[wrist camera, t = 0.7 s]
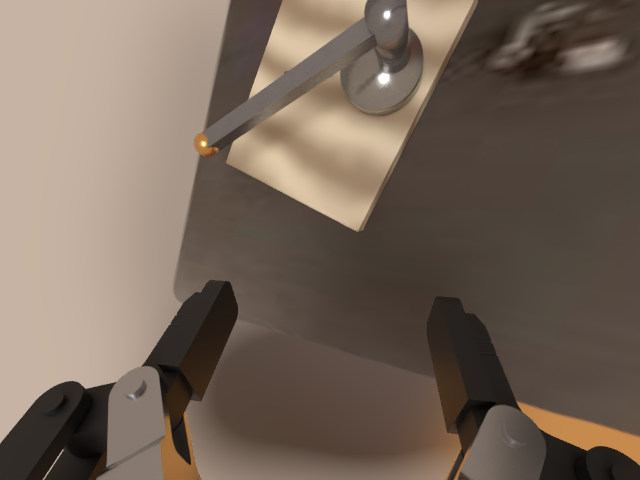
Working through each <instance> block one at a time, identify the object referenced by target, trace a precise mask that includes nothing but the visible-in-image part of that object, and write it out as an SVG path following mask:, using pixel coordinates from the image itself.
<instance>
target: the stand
mask: <svg viewBox="0 0 640 480" xmlns="http://www.w3.org/2000/svg"><path fill="white" fill-rule="evenodd" d="M366 2H367V0H283V1H282V4H281V7H280V10H279V13H278V16H277V19H276V21H275V24H274V27H273V30H272V33H271V36H270V39H269V41H268V44H267V47H266V50H265V53H264V56H263V59H262V61H261V64H260V67H259V70H258V73H257V76H256V79H255V81H254V84H253V87H252V90H251V93H250V96H249V99H250V98H251V97H253V96H254V95H256V94H257V93H258V92H260V91H261V90H263V89H264V88H265V87H267V86H268V85H270V84H271V83H272V82H274V81H275V80H277V79H278V78H279V77H281V76H282V75H283V74H285V73H286V72H288V71H289V70H290V69H292V68H293V67H295V66H296V65H297V64H299V63H300V62H302V61H303V60H304V59H306V58H307V57H309V56H310V55H311V54H313V53H314V52H316V51H317V50H318V49H320V48H321V47H323V46H324V45H325V44H327V43H328V42H330V41H331V40H332V39H334V38H335V37H337V36H338V35H339V34H341V33H342V32H344V31H345V30H346V29H348V28H349V27H351V26H352V25H353V24H355V23H356V22H358V21H359V20H360V19H362V18H363V17H365V16H364V9H365V5H366ZM477 4H478V0H407V12H408V24H409V27H410V28H411V29H412V30H413V31H414V32H415V33H416V35H417V36H418V38H419V40H420V42H421V45H422V49H423V76H422V80H421V83H420V85H419V88H418V90H417V91H416V93H415V95H414V96H413V97H412V98H411V100H410V101H409V102H408V103H407V104H406V105H404V106H403V107H402V108H400V109H399V110H397V111H395V112H393V113H390V114H387V115H381V116H374V115H368V114H365V113H363V112H361V111H359V110H358V109H357V108H356V107H355V106H354V105H353V104H352V103H351V101H350V100H349V98H348V97H347V95H346V94H345V92H344V90H343V87H342V85H341V80H340V71H339V72H337V73H336V74H334V75H333V76H331V77H330V78H328V79H326V80H325V81H323V82H322V83H320V84H319V85H317V86H316V87H314V88H313V89H311V90H310V91H308V92H307V93H305V94H304V95H302V96H301V97H299V98H298V99H296V100H295V101H293V102H292V103H290V104H289V105H287V106H286V107H284V108H283V109H281V110H280V111H278V112H277V113H275V114H274V115H272V116H271V117H269V118H268V119H266V120H265V121H263V122H262V123H260V124H259V125H257V126H256V127H254V128H253V129H251V130H250V131H248V132H247V133H245V134H244V135H242V136H240V137H239V138H237V139H236V140H234V142H233V144H232V147H231V150H230V153H229V156H228V159H227V162H226V163H227V164H229V165H231V166H233V167H235V168H237V169H239V170H241V171H243V172H245V173H246V174H248V175H250V176H252V177H254V178H256V179H258V180H260V181H262V182H264V183H265V184H267V185H269V186H271V187H273V188H275V189H277V190H279V191H281V192H283V193H285V194H286V195H288V196H290V197H292V198H294V199H296V200H298V201H300V202H302V203H304V204H305V205H307V206H309V207H311V208H313V209H315V210H317V211H319V212H321V213H323V214H324V215H326V216H328V217H330V218H332V219H334V220H336V221H338V222H340V223H342V224H343V225H345V226H347V227H349V228H351V229H353V230H355V231H357V232H359V231H362V230H363V229H364V227H365V225H366V223H367V221H368V219H369V217H370V215H371V213H372V211H373V209H374V207H375V205H376V203H377V201H378V199H379V197H380V195H381V193H382V191H383V189H384V187H385V185H386V183H387V182H388V180H389V178H390V176H391V174H392V172H393V170H394V168H395V166H396V164H397V162H398V160H399V158H400V156H401V154H402V152H403V150H404V148H405V146H406V144H407V142H408V140H409V138H410V136H411V134H412V132H413V130H414V128H415V126H416V124H417V122H418V121H419V119H420V117H421V115H422V113H423V111H424V109H425V107H426V105H427V103H428V101H429V99H430V97H431V95H432V93H433V91H434V89H435V87H436V85H437V83H438V81H439V79H440V77H441V75H442V73H443V71H444V69H445V67H446V65H447V63H448V61H449V59H450V58H451V56H452V54H453V52H454V50H455V48H456V46H457V44H458V42H459V40H460V38H461V36H462V34H463V32H464V30H465V28H466V26H467V24H468V22H469V20H470V18H471V16H472V14H473V12H474V10H475V8H476V6H477ZM249 99H248V100H249Z"/></svg>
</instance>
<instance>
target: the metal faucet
mask: <svg viewBox="0 0 640 480" xmlns="http://www.w3.org/2000/svg"><path fill="white" fill-rule="evenodd" d="M364 16H365V17H363V18H362V19H360V20H359V21H358V22H356V23H355V24H353V25H352V26H351V27H349V28H348V29H346V30H345V31H344V32H342V33H341V34H339V35H338V36H337V37H335V38H334V39H332V40H331V41H330V42H328V43H327V44H325V45H324V46H323V47H321V48H320V49H318V50H317V51H316V52H314V53H313V54H311V55H310V56H309V57H307V58H306V59H304V60H303V61H302V62H300V63H299V64H297V65H296V66H295V67H293V68H292V69H290V70H289V71H288V72H286V73H285V74H283V75H282V76H281V77H279V78H278V79H277V80H275V81H274V82H272V83H271V84H270V85H268V86H267V87H265V88H264V89H263V90H261V91H260V92H258V93H257V94H256V95H254V96H253V97H251V98H250V99H249V100H247V101H246V102H244V103H243V104H242V105H240V106H239V107H237V108H236V109H235V110H233V111H232V112H230V113H229V114H228V115H226V116H225V117H223V118H222V119H221V120H219V121H218V122H216V123H215V124H214V125H212V126H211V127H209V128H208V129H207V130H205V131H204V132H202V133H200V134H198V135H197V136H196V137H195V139H194V146H195V149H196V151H197V152H198V153H199V154H200V155H202V156H205V157H211V156H214V155H215V154H216V153H217V152H218V151H219V150H221V149H222V148H224V147H225V146H227V145H228V144H230V143H231V142H233V141H234V140H236V139H237V138H239V137H240V136H242V135H244V134H245V133H247V132H248V131H250V130H251V129H253V128H254V127H256V126H257V125H259V124H260V123H262V122H263V121H265V120H266V119H268V118H269V117H271V116H272V115H274V114H275V113H277V112H278V111H280V110H281V109H283V108H284V107H286V106H287V105H289V104H290V103H292V102H293V101H295V100H296V99H298V98H299V97H301V96H302V95H304V94H305V93H307V92H308V91H310V90H311V89H313V88H314V87H316V86H317V85H319V84H320V83H322V82H323V81H325V80H326V79H328V78H330V77H331V76H333V75H334V74H336V73H337V72H339V71H340V80H341V85H342V87H343V90H344V92H345V94H346V95H347V97H348V98H349V100H350V101H351V103H352V104H353V105H354V106H355V107H356V108H357V109H358V110H359V111H361V112H363V113H365V114H368V115H374V116H381V115H387V114H390V113H393V112H395V111H397V110H399V109H400V108H402V107H403V106H404V105H406V104H407V103H408V102H409V101H410V100H411V98H412V97H413V96H414V95H415V93H416V91H417V90H418V88H419V85H420V83H421V80H422V76H423V49H422V45H421V42H420V40H419V38H418V36H417V35H416V33H415V32H414V31H413V30H412V29H411V28H410V27H409V24H408V12H407V0H367V2H366V5H365V9H364Z"/></svg>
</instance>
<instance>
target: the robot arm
mask: <svg viewBox="0 0 640 480" xmlns="http://www.w3.org/2000/svg"><path fill="white" fill-rule="evenodd" d="M237 315H238V305H237V302H236V299H235V296H234V292H233V289H232V286H231V283H230V282H229V281H216V280H210V281H208V282H207V284H206V285H205V287H204V288H203V290H202V292H201V293H198V292H196V293H194V294H193V295H192V296H191V297H190V298H188V299H187V300H186V301H185V302H184V303H183V305H182V306H181V308H180V309H179V311H178V312H177V316H175V317H174V319H173V320H172V322H171V325H169V326H168V328H167V329H166V331H165V332H164V334H163V336H162V337H161V339H160V340H159V342H158V343H157V345H156V346H155V348H154V349H153V351H152V352H151V354H150V355H149V357H148V358H147V360H146V362H145V363H144V364H143V365H142V366H141V367H138V368H135V369H133V370H131V371H130V372H128V373H127V374H125V375H124V376H122V377H121V378H120V379H119V380H118V381H117V382H115V383H110V384H106V385H101V386H97V387H93V388H88V389H85V388H84V387H83V386H82V385H81V384H80V383H78V382H74V381H69V382H64V383H61V384H58V385H56V386H54V387H53V388H51V389H49V390H48V391H46V392H45V393H44V394H42V395H41V396H40V397H39V398H38V399H37V400H36V401H35V402H34V403H33V405H32V406H31V407H30V408H29V409H28V411H27V412H26V413H25V414H24V416H23V417H22V418H21V419H20V420H19V422H18V423H17V424H16V425H15V426H14V428H13V429H12V430H11V431H10V432H9V434H8V435H7V436H6V438H5V439H4V440H3V441H2V442H1V444H0V480H43V478H44V477H45V475H46V474H47V472H48V471H49V469H50V468H51V466H52V465H53V463H54V462H55V460H56V458H57V457H58V456H59V454H60V452H61V451H62V449H63V450H64V451H63V452H62V454H61V455H60V457H59V458H58V460H57V461H56V463H55V464H54V466H53V467H52V469H51V470H50V472H49V473H48V475H47V476H46V478H45V479H44V480H201V477H200V475H199V473H198V470H197V467H196V463H195V457H194V452H193V446H192V440H191V435H190V429H189V424H188V419H187V413H186V407H187V406H188V403H189V401H190V400H194V401H201V400H202V398H203V396H204V394H205V391H206V389H207V387H208V384H209V382H210V380H211V377H212V375H213V373H214V370H215V368H216V366H217V364H218V361H219V359H220V357H221V354H222V352H223V350H224V347H225V345H226V343H227V340H228V338H229V336H230V333H231V331H232V329H233V327H234V324H235V322H236V319H237ZM427 338H428V343H429V347H430V352H431V357H432V362H433V367H434V371H435V376H436V381H437V386H438V390H439V395H440V400H441V405H442V409H443V415H444V419H445V423H446V429H447V433H455V434H459V438H460V443H461V448H460V450H459V452H458V454H457V456H456V458H455V460H454V462H453V464H452V466H451V468H450V470H449V473H448V475H447V477H446V479H445V480H640V466H639V465H638V464H637V463H636V462H635V461H633V460H632V459H631V458H629V457H628V456H626V455H624V454H623V453H621V452H619V451H617V450H615V449H612V448H609V447H604V446H597V447H594V448H591V449H590V450H588V451H586V450H584V449H581V448H579V447H577V446H574V445H572V444H570V443H567V442H565V441H563V440H560V439H558V438H556V437H553V436H551V435H549V434H547V433H545V432H544V431H542V430H541V429H539V428H538V427H537V425H536V424H535V423H534V422H533V421H532V420H531V419H530V418H529V417H528V416H527V415H525V414H524V413H523V412H522V411H521V409H520V408H519V406H518V404H517V402H516V400H515V397H514V395H513V393H512V390H511V388H510V385H509V383H508V380H507V378H506V375H505V373H504V371H503V368H502V366H501V363H500V361H499V358H498V356H496V351H495V349H494V346H493V344H491V339H490V336H489V334H488V332H487V329H486V327H485V326H484V324H483V323H482V322H481V321H480V320H479V319H478V318H477V316H476V315H475V314H469V313H465V312H464V309H463V306H462V303H461V301H460V299H459V298H453V297H438V296H437V297H436V298H435V300H434V303H433V306H432V309H431V312H430V315H429V319H428V322H427Z"/></svg>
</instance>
